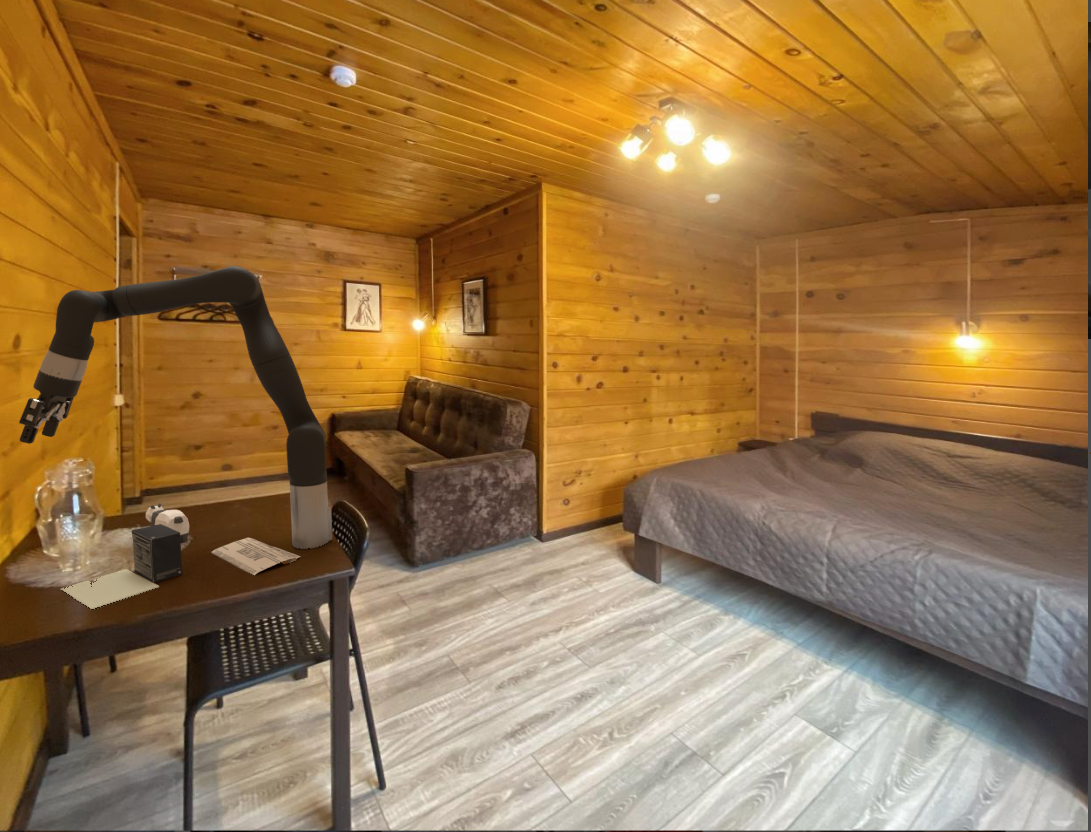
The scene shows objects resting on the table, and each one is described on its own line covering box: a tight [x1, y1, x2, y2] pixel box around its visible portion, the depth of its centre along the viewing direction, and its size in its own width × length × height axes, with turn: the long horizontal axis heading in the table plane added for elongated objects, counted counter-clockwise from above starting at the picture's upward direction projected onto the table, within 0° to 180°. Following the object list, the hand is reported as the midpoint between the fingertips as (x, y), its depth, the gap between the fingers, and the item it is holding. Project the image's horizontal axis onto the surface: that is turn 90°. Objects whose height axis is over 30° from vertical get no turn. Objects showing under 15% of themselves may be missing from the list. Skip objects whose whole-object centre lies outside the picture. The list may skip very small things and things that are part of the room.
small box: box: [131, 524, 183, 584], centre depth 122 cm, size 11×6×10 cm, turn 58°
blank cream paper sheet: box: [60, 568, 160, 610], centre depth 115 cm, size 12×16×1 cm
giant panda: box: [145, 503, 190, 543], centre depth 143 cm, size 15×6×10 cm, turn 65°
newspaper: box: [211, 537, 302, 577], centre depth 134 cm, size 23×12×2 cm, turn 56°
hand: (37, 439), depth 120 cm, fingers open, 8 cm apart
